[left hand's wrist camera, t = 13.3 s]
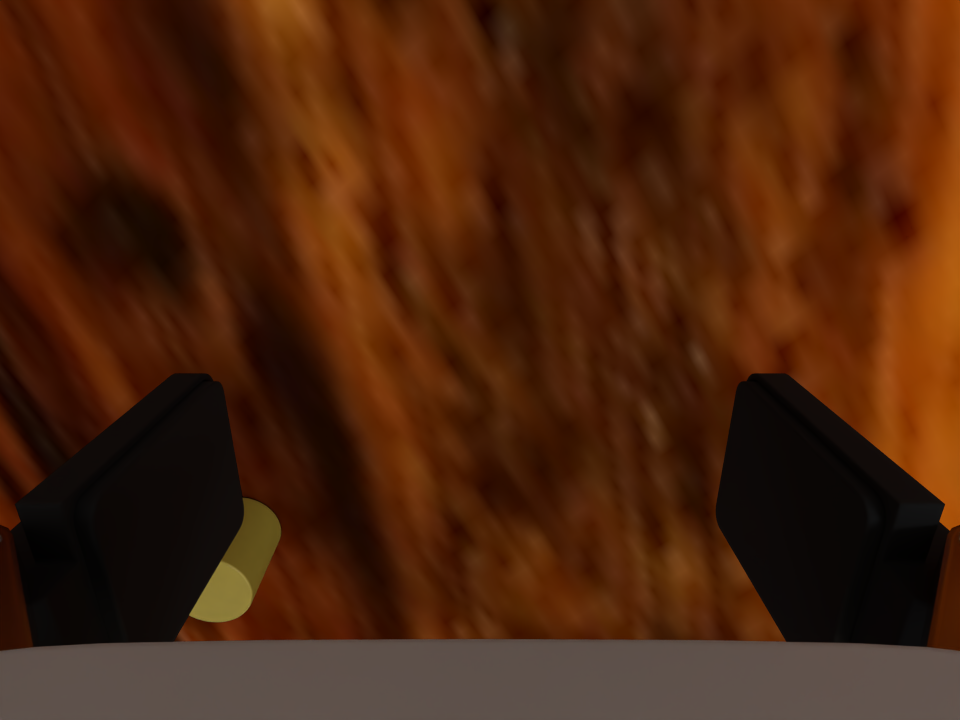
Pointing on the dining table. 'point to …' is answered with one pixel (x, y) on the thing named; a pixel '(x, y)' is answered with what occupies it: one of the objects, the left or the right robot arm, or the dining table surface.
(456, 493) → the dining table surface
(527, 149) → the dining table surface
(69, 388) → the dining table surface
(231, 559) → the tin
